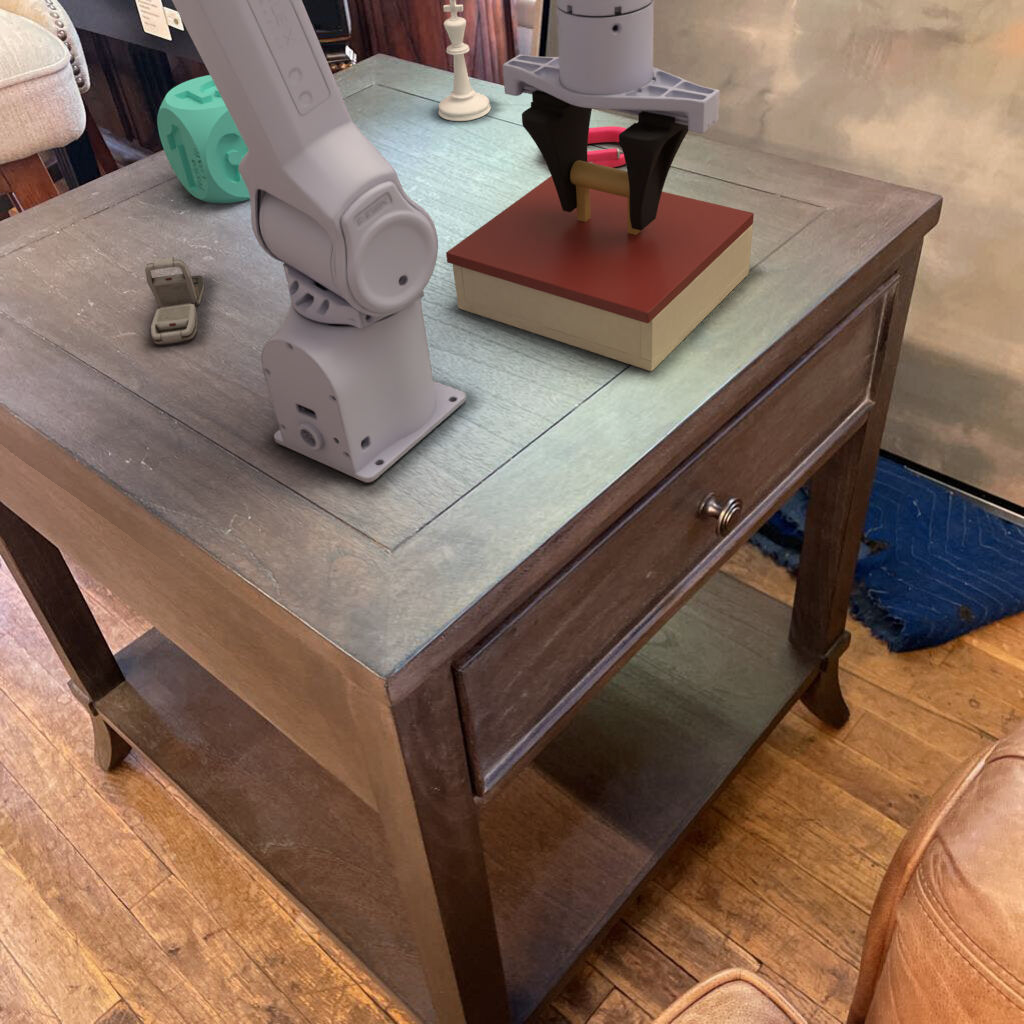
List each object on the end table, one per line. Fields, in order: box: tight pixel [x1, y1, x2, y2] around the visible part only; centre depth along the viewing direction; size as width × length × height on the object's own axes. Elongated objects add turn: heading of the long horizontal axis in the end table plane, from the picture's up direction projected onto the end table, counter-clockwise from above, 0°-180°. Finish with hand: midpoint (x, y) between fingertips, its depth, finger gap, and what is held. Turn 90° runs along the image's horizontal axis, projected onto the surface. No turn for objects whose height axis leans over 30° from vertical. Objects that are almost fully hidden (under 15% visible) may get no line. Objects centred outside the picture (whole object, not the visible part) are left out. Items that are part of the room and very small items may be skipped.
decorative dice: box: [156, 74, 250, 204], centre depth 90 cm, size 8×8×8 cm
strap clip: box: [144, 257, 205, 345], centre depth 76 cm, size 8×3×4 cm, turn 7°
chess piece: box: [438, 0, 492, 122], centre depth 97 cm, size 5×5×10 cm
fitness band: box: [587, 125, 628, 168], centre depth 91 cm, size 8×6×2 cm
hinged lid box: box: [451, 223, 754, 372], centre depth 74 cm, size 14×16×4 cm
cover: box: [445, 160, 755, 323], centre depth 71 cm, size 14×16×5 cm
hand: (609, 214), depth 72 cm, fingers closed on cover, 5 cm apart
